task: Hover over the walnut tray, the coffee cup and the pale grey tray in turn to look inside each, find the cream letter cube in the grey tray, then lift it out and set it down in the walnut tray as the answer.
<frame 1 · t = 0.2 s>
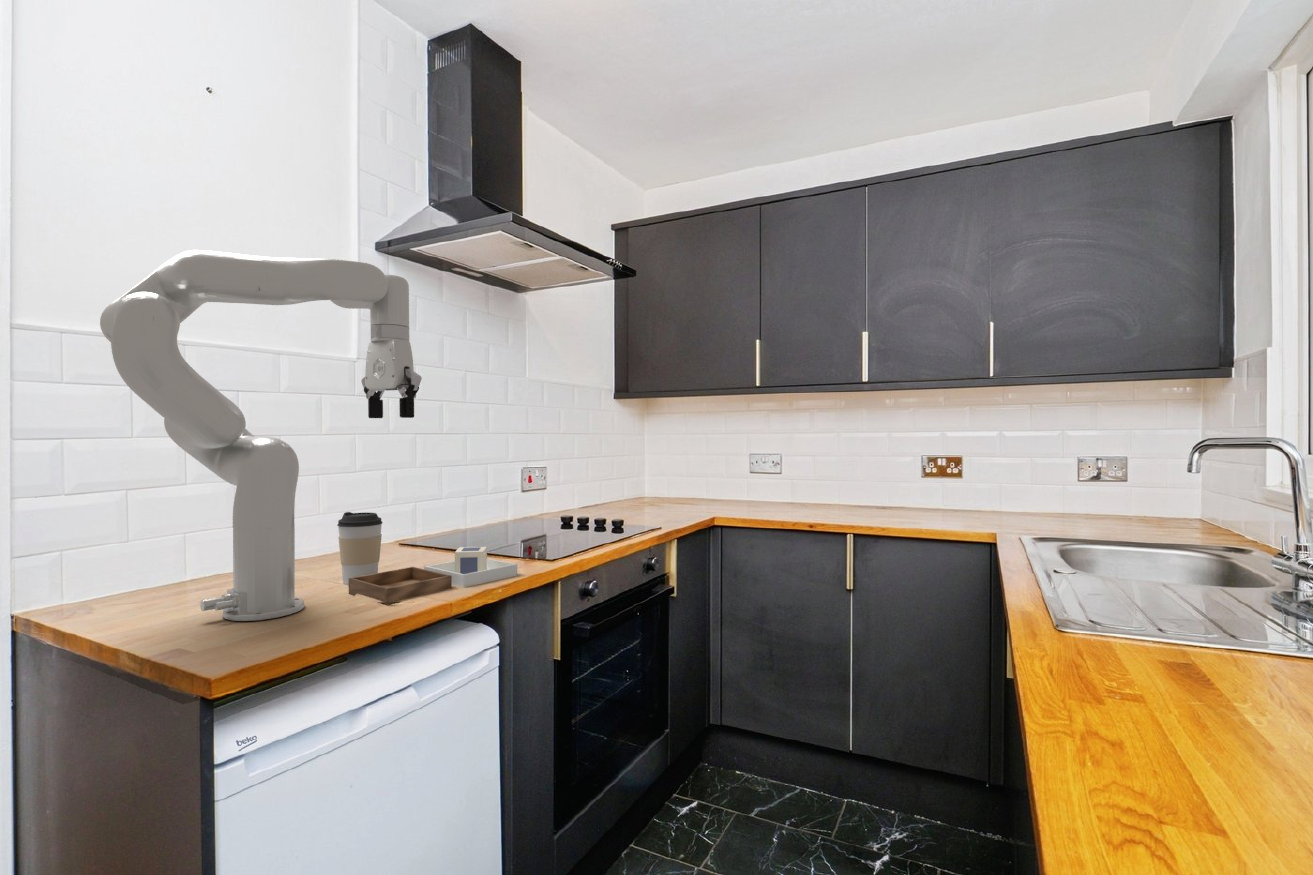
hand: (391, 417, 135), 36 cm above the worktop, tool pointing down, fingers open, 9 cm apart
letter cube: (471, 576, 143), point 1 cm above the worktop, touching grey tray
coffee cup: (360, 581, 141), on the worktop
walnut tray: (400, 592, 131), on the worktop
grey tray: (471, 579, 143), on the worktop
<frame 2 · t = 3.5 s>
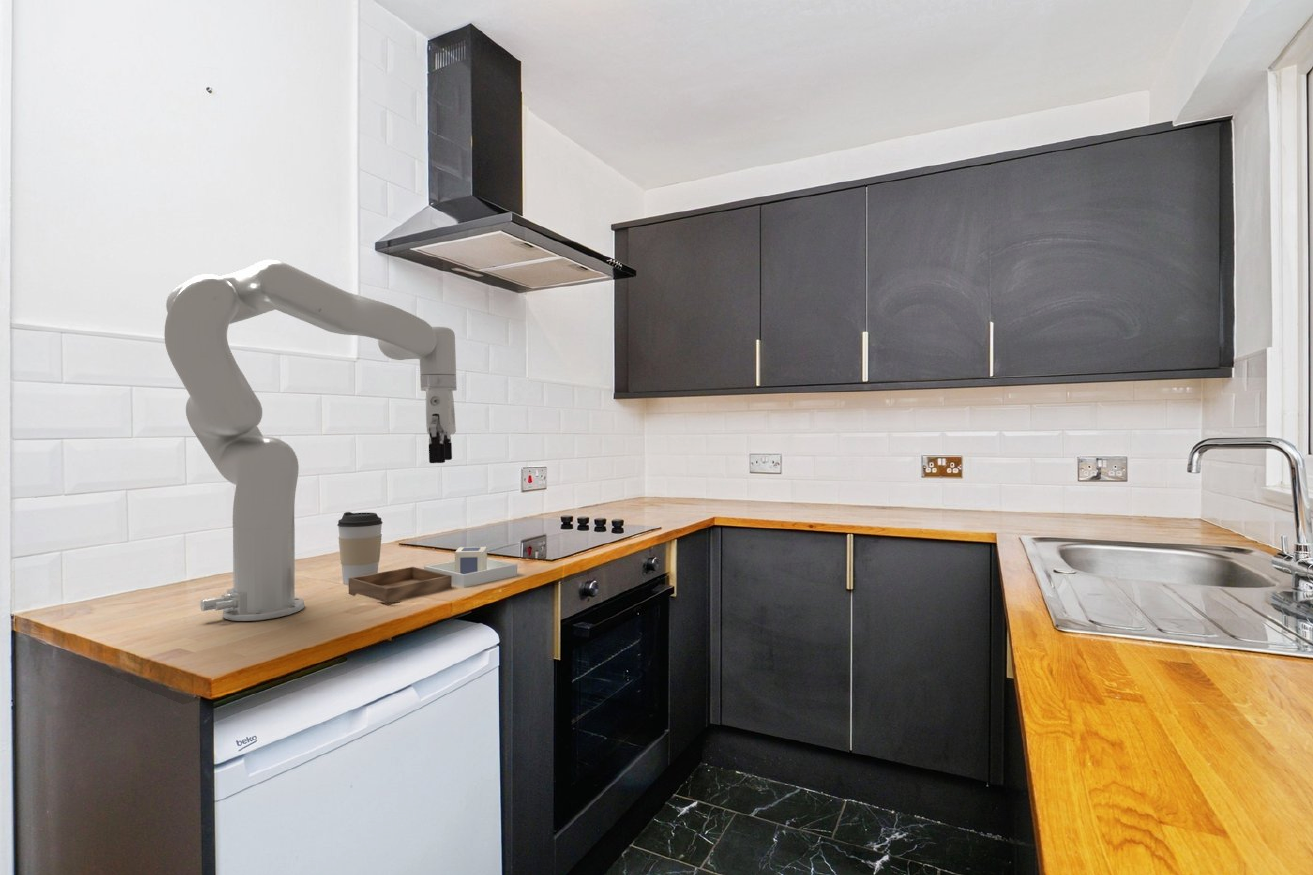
hand: (441, 461, 142), 26 cm above the worktop, tool pointing down, fingers open, 9 cm apart
nothing on the worktop moved.
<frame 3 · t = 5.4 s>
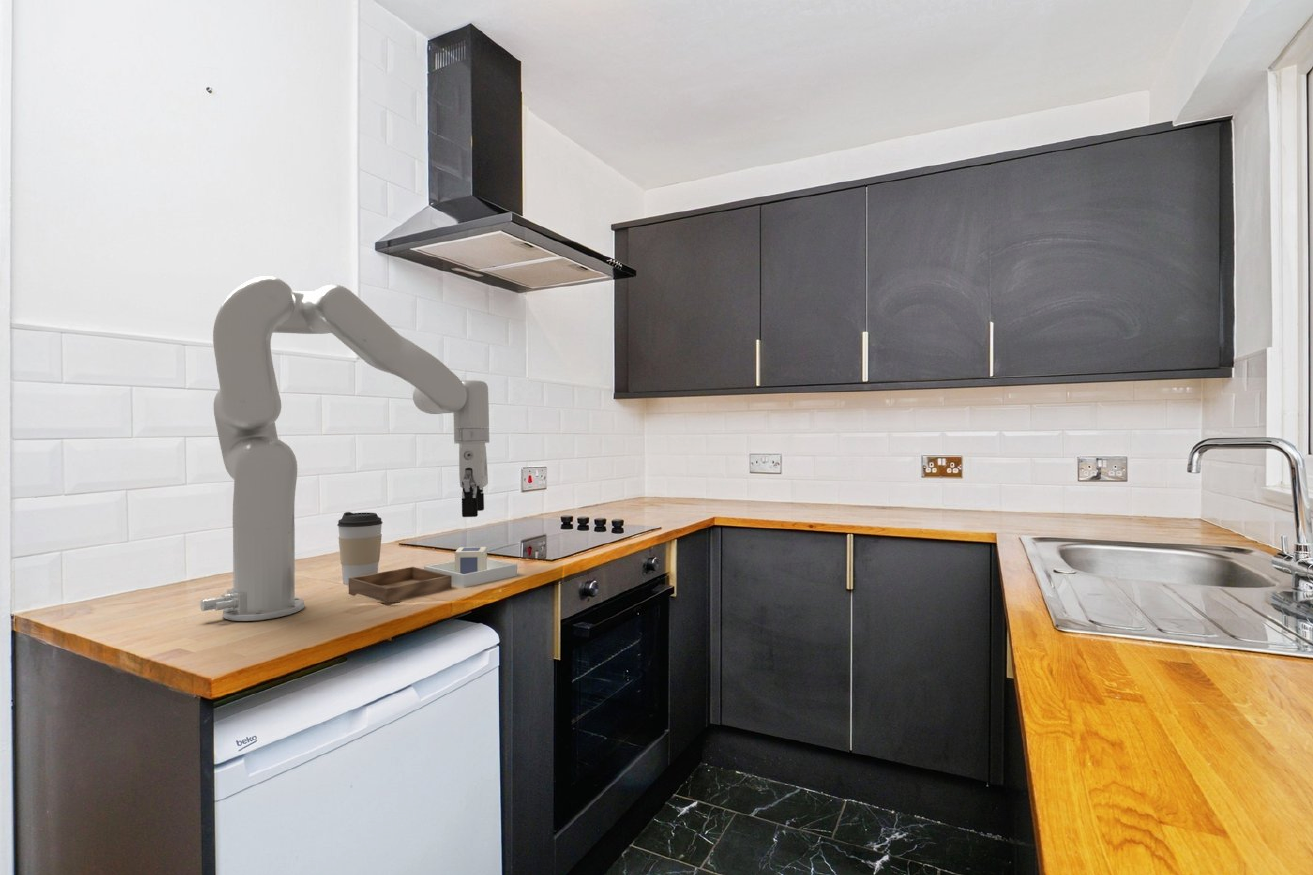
hand: (473, 513, 143), 15 cm above the worktop, tool pointing down, fingers open, 9 cm apart
nothing on the worktop moved.
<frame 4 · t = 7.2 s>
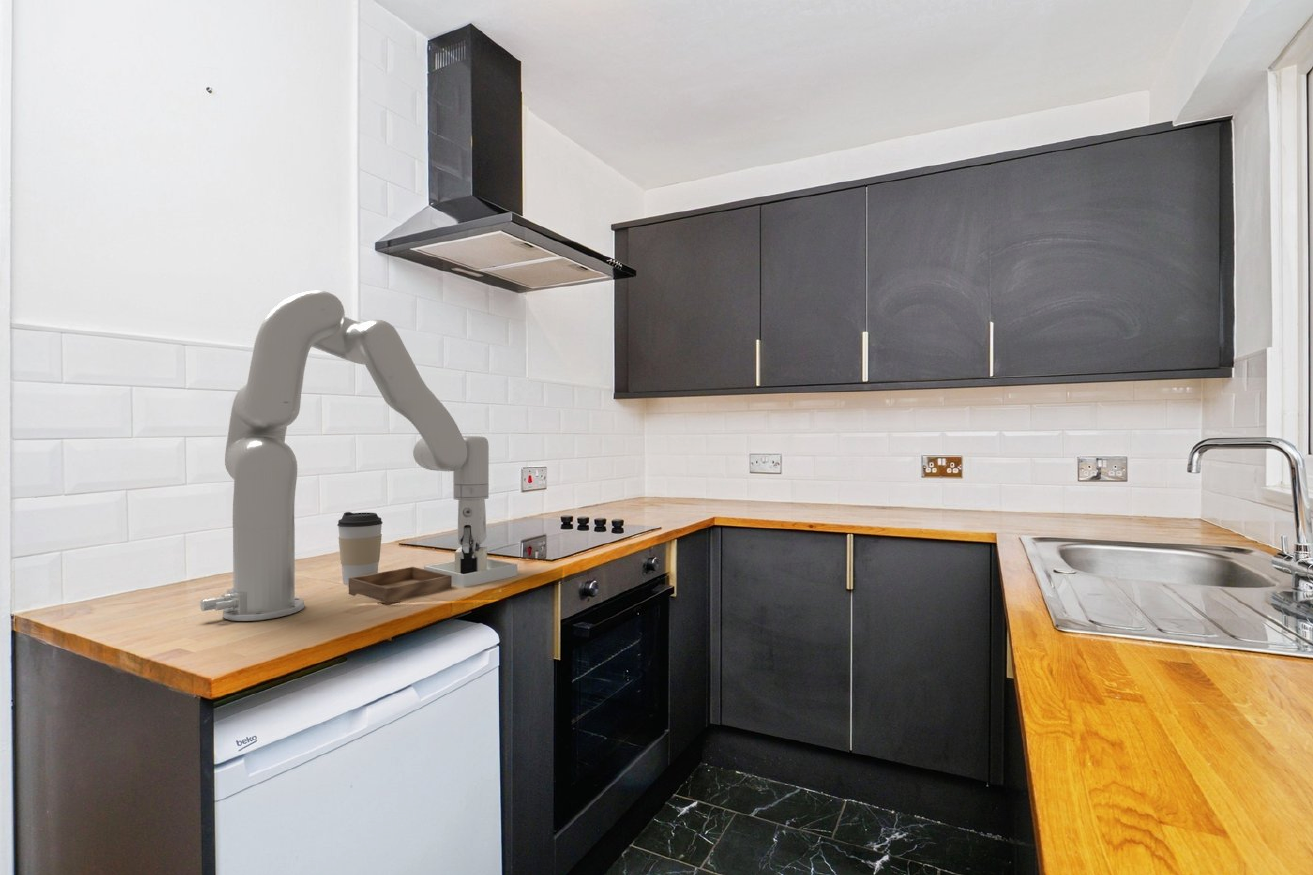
hand: (471, 572, 143), 1 cm above the worktop, tool pointing down, fingers closed on letter cube, 6 cm apart
letter cube: (471, 576, 143), point 1 cm above the worktop, touching grey tray, gripper
everything else where it was.
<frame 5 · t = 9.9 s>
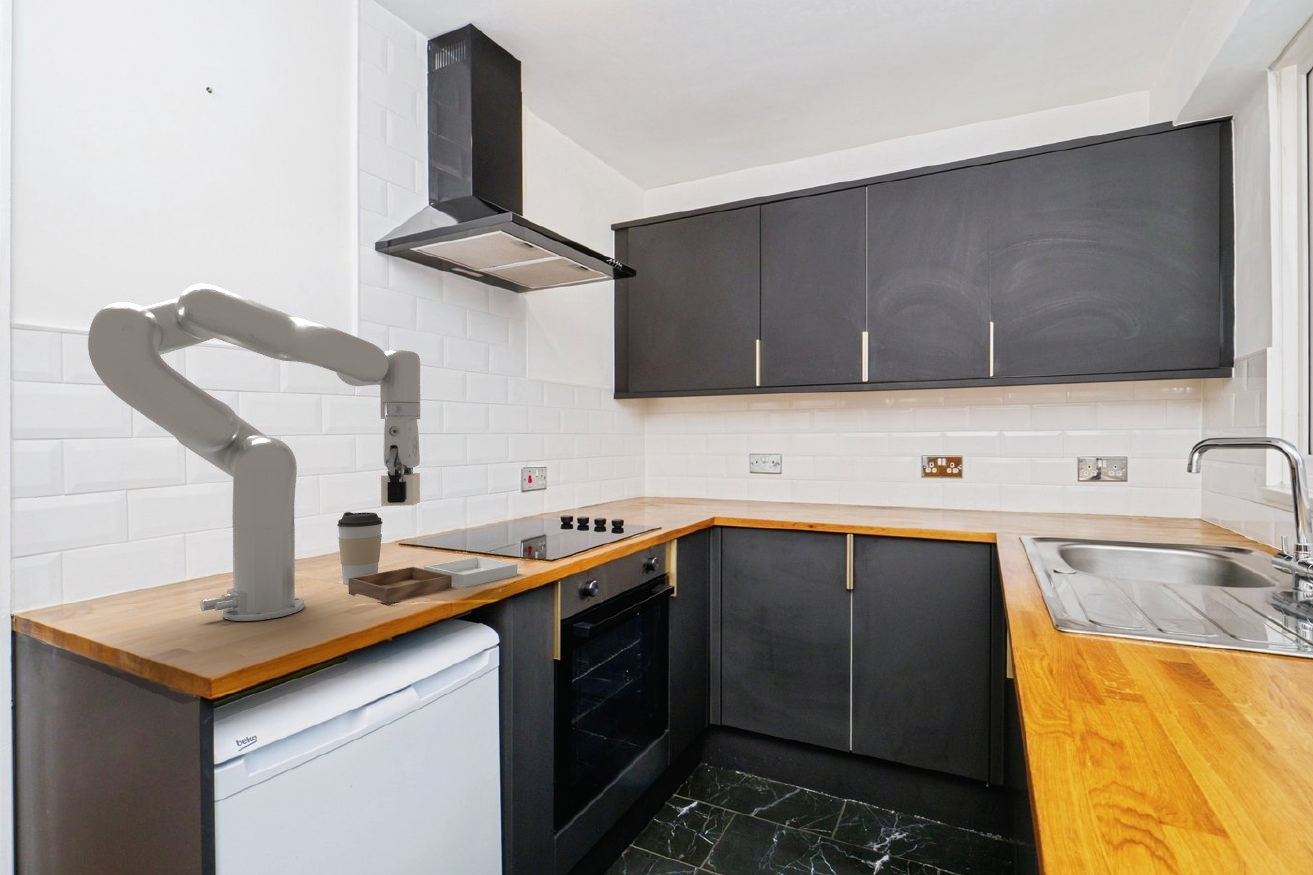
hand: (400, 499, 131), 19 cm above the worktop, tool pointing down, fingers closed on letter cube, 6 cm apart
letter cube: (401, 503, 131), point 18 cm above the worktop, touching gripper
everything else where it was.
when the fingers open (3 cm above the worktop, at t = 12.7 s): letter cube drops 2 cm, resting on walnut tray.
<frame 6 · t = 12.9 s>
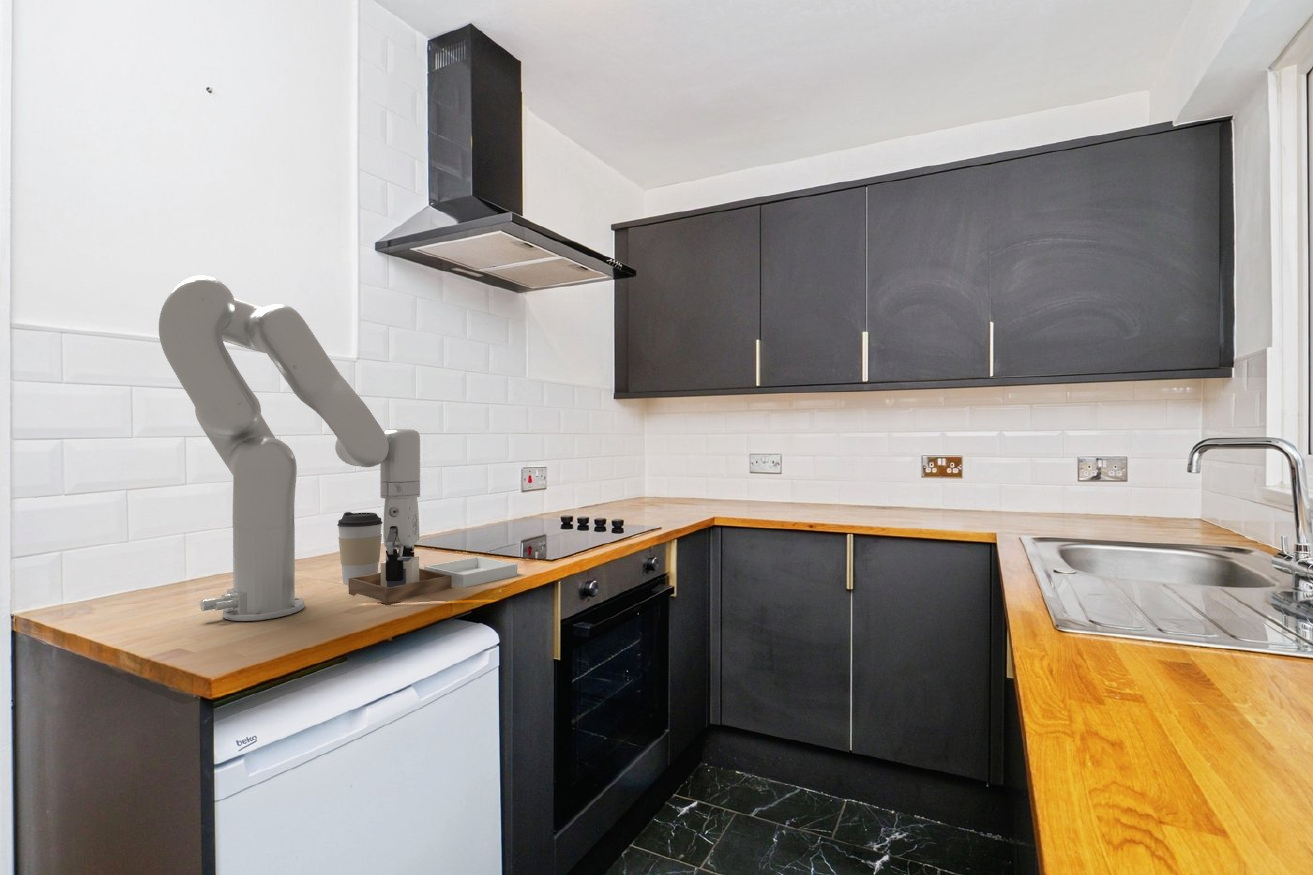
hand: (400, 575, 131), 3 cm above the worktop, tool pointing down, fingers open, 8 cm apart
letter cube: (400, 589, 131), point 1 cm above the worktop, touching walnut tray
everything else where it was.
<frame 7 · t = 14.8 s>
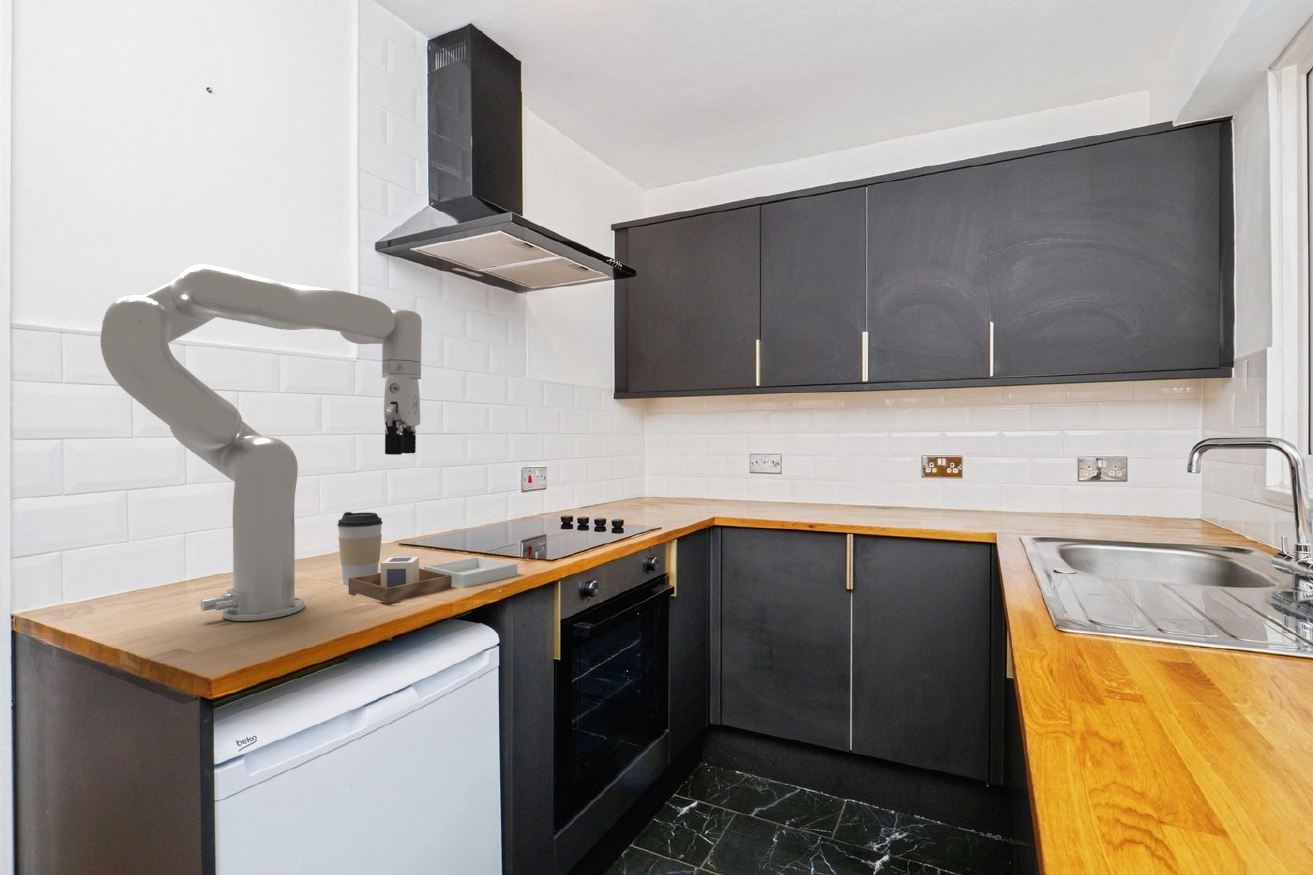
hand: (400, 453, 133), 28 cm above the worktop, tool pointing down, fingers open, 9 cm apart
nothing on the worktop moved.
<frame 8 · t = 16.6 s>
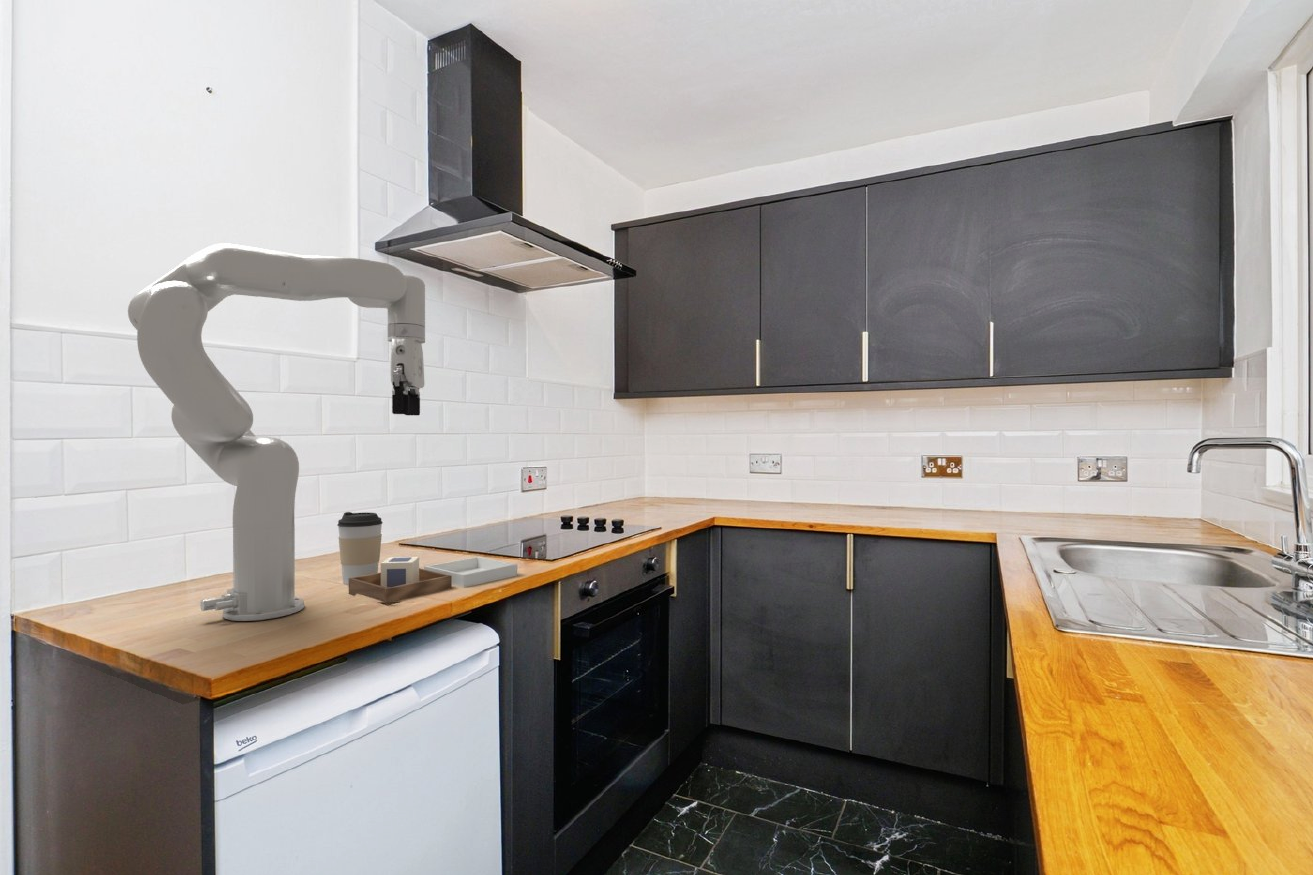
hand: (406, 414, 138), 36 cm above the worktop, tool pointing down, fingers open, 9 cm apart
nothing on the worktop moved.
at the end: letter cube inside the target area on the walnut tray (0.0 cm from its centre), point 0.6 cm above the walnut tray's base; the gripper is holding nothing; letter cube tilted 0° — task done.
